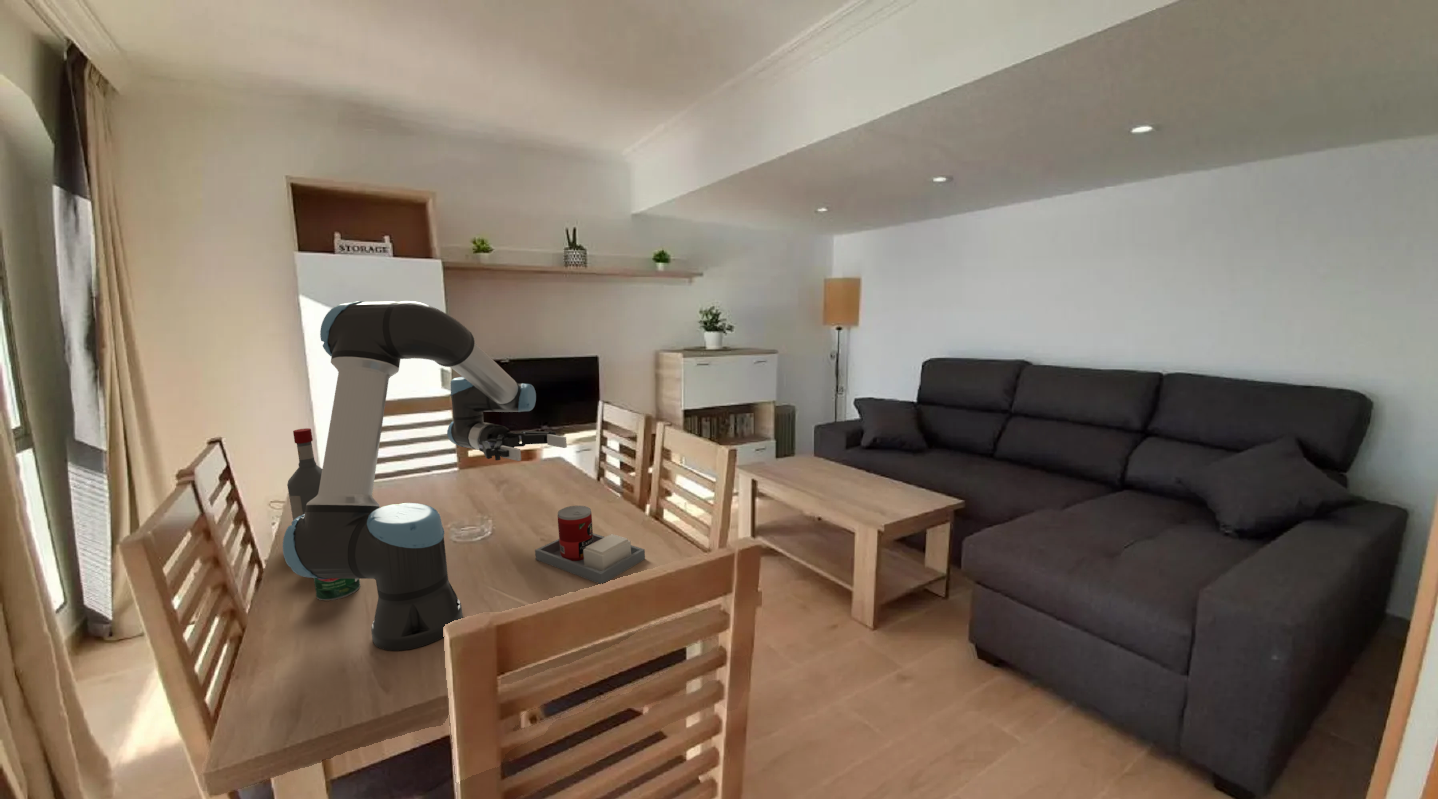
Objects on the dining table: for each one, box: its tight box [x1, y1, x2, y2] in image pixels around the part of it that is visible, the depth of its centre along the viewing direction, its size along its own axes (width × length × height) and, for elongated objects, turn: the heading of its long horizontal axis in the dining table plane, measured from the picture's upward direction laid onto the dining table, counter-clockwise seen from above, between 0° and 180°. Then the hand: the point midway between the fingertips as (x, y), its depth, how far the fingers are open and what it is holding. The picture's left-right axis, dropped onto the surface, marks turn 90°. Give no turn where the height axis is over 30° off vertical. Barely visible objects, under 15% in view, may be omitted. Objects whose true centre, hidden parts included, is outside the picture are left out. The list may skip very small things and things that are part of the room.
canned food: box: [557, 505, 594, 561], centre depth 131 cm, size 8×8×11 cm
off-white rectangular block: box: [583, 533, 632, 571], centre depth 126 cm, size 6×9×6 cm, turn 146°
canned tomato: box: [313, 578, 361, 601], centre depth 117 cm, size 8×8×11 cm
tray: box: [534, 532, 646, 585], centre depth 129 cm, size 22×14×3 cm, turn 56°
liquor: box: [286, 427, 323, 521], centre depth 141 cm, size 9×9×30 cm
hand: (543, 448), depth 133 cm, fingers open, 13 cm apart
